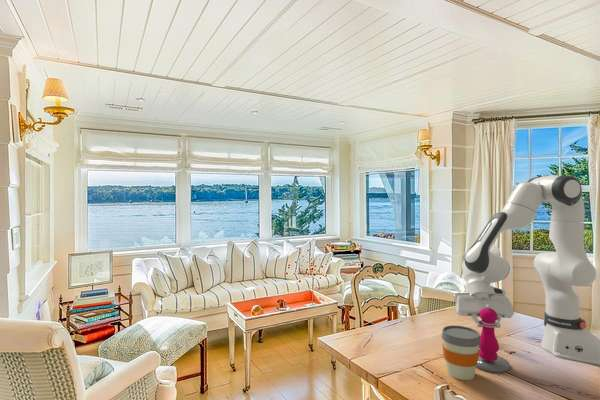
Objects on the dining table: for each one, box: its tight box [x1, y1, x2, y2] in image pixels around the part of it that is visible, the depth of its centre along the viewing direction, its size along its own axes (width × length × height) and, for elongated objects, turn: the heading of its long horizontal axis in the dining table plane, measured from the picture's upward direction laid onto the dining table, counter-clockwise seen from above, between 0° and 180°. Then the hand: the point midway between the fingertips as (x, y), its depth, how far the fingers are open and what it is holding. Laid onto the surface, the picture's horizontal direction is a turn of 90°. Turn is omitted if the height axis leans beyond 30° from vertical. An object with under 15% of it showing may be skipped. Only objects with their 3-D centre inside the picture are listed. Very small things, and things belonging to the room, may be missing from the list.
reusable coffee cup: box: [441, 324, 481, 381], centre depth 126 cm, size 12×13×15 cm
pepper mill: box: [479, 304, 500, 361], centre depth 133 cm, size 7×7×20 cm
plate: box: [476, 355, 511, 374], centre depth 133 cm, size 14×14×1 cm
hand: (488, 326), depth 132 cm, fingers closed on pepper mill, 5 cm apart
